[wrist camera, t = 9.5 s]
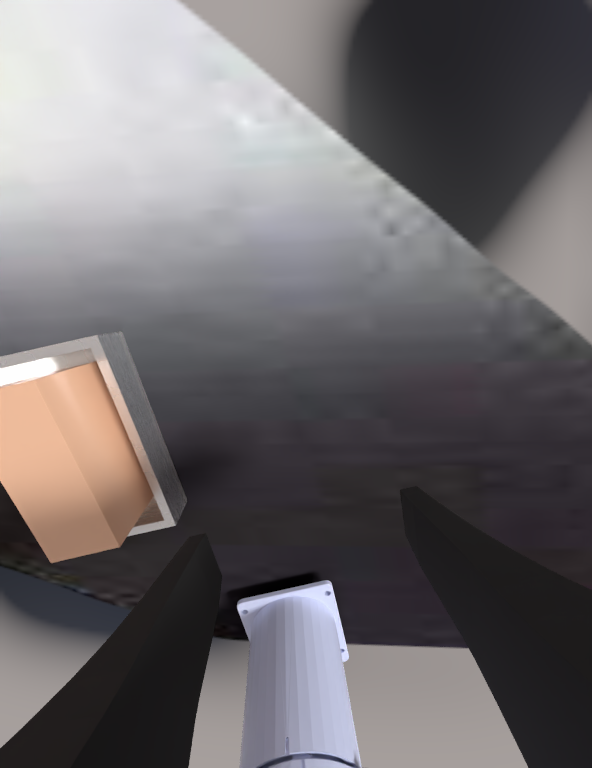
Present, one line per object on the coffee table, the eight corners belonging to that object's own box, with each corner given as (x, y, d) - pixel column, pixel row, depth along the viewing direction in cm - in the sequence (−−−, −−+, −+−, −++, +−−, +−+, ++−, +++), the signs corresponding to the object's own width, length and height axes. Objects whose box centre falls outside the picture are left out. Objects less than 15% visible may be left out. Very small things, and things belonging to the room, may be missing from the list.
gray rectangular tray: (187, 500, 21) (175, 525, 19) (96, 521, 21) (73, 548, 19) (121, 331, 18) (97, 334, 15) (11, 355, 18) (-30, 363, 15)
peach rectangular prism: (101, 359, 18) (34, 379, 13) (157, 490, 20) (119, 546, 16) (40, 374, 18) (-50, 399, 13) (104, 502, 20) (50, 563, 16)
